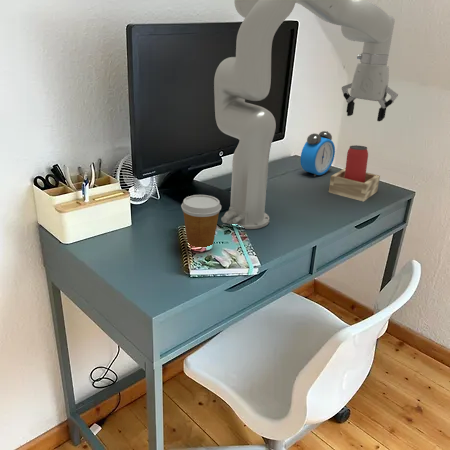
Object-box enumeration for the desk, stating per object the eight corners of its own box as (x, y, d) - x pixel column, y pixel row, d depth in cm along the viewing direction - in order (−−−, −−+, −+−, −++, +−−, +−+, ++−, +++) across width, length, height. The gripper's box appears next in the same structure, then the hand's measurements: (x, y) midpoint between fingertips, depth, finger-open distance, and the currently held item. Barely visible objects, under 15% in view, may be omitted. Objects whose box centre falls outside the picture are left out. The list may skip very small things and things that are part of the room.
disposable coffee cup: (194, 234, 128) (195, 191, 123) (226, 244, 124) (228, 199, 119) (173, 248, 121) (173, 202, 116) (206, 259, 117) (207, 212, 112)
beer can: (366, 186, 159) (370, 149, 155) (345, 185, 160) (349, 148, 156) (362, 181, 165) (367, 145, 161) (342, 180, 166) (346, 144, 162)
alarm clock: (311, 179, 173) (316, 137, 167) (297, 174, 177) (302, 133, 171) (332, 172, 182) (338, 131, 176) (318, 167, 186) (324, 128, 180)
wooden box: (363, 202, 156) (366, 184, 154) (328, 193, 162) (330, 176, 160) (376, 192, 165) (380, 175, 163) (343, 184, 171) (345, 167, 169)
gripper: (341, 57, 148) (333, 115, 155) (399, 64, 139) (388, 124, 146) (351, 56, 154) (343, 112, 161) (407, 62, 145) (396, 121, 152)
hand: (364, 118), depth 153 cm, fingers open, 9 cm apart
